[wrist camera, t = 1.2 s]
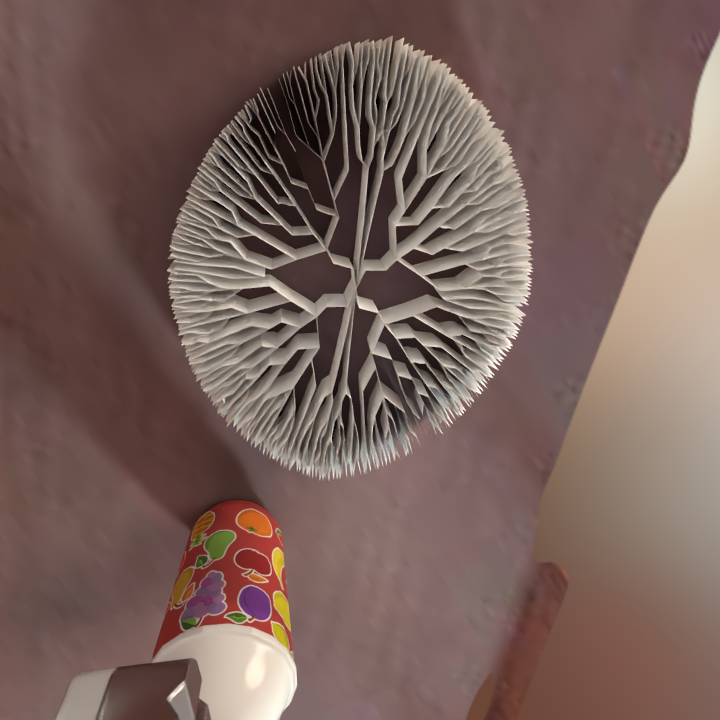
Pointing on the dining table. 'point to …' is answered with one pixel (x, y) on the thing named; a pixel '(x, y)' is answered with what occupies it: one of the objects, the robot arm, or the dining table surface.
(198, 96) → the dining table surface
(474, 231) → the spiky fractal disc
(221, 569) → the smoothie
